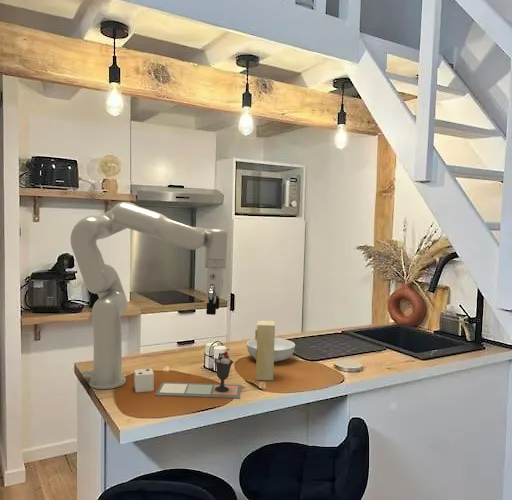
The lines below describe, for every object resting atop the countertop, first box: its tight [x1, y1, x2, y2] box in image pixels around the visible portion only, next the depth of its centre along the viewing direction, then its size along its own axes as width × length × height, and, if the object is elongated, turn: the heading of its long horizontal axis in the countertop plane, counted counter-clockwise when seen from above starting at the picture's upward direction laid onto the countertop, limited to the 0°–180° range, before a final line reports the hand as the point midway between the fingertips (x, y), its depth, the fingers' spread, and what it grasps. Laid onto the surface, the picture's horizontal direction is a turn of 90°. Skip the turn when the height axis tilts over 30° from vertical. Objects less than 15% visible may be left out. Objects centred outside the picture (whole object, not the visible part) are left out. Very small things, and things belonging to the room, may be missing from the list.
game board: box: [154, 381, 242, 399], centre depth 168 cm, size 29×12×1 cm, turn 89°
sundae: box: [214, 348, 234, 392], centre depth 167 cm, size 7×7×15 cm
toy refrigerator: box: [254, 320, 276, 381], centre depth 183 cm, size 8×7×21 cm
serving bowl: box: [246, 337, 296, 363], centre depth 206 cm, size 21×21×7 cm
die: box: [133, 367, 155, 393], centre depth 168 cm, size 6×6×6 cm
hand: (212, 311), depth 171 cm, fingers open, 9 cm apart
